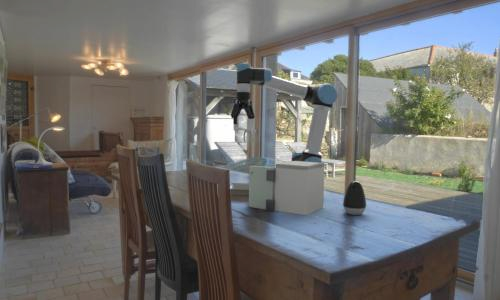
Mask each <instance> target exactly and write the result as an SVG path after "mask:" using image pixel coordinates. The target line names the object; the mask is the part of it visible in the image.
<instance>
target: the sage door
mask: <svg viewBox="0 0 500 300" xmlns="http://www.w3.org/2000/svg"><path fill="white" fill-rule="evenodd" d="M248 170H249V172H248V173H249V174H248V176H249V177H248V178H249V179H248V181H249V182H248V183H249V185H248V189H249V190H248V207H249V208H256V209H261V210H266V200H267V199H269V200H274V199H275V181H266V172H267V170H276V166H275V167H273V166H272V167H271V166H262V165H249V169H248Z"/></svg>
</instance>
